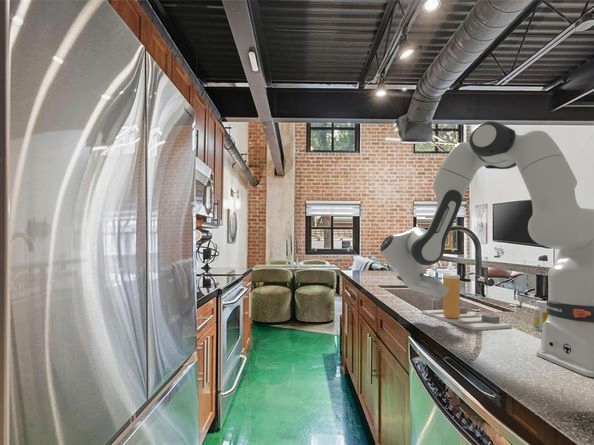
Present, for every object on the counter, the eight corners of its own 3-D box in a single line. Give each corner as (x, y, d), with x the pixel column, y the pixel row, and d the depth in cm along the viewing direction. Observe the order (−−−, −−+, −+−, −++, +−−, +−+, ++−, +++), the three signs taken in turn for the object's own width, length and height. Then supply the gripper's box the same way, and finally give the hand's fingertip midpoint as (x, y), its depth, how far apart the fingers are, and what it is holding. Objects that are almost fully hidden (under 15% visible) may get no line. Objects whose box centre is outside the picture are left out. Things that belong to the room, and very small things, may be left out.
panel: (511, 327, 122) (511, 319, 122) (472, 330, 118) (472, 321, 118) (455, 311, 149) (455, 304, 149) (422, 313, 145) (422, 305, 145)
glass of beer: (460, 317, 131) (460, 275, 132) (450, 318, 130) (450, 275, 131) (452, 315, 135) (452, 274, 136) (443, 315, 134) (442, 274, 135)
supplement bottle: (531, 329, 120) (531, 301, 121) (537, 327, 124) (536, 299, 124) (550, 333, 116) (550, 303, 117) (555, 330, 120) (555, 302, 120)
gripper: (437, 269, 120) (461, 297, 122) (403, 264, 139) (425, 289, 142) (425, 282, 118) (450, 311, 120) (393, 276, 138) (415, 300, 140)
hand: (436, 299), depth 131 cm, fingers closed
